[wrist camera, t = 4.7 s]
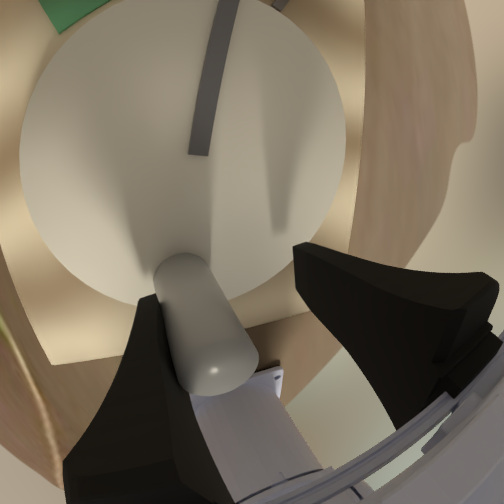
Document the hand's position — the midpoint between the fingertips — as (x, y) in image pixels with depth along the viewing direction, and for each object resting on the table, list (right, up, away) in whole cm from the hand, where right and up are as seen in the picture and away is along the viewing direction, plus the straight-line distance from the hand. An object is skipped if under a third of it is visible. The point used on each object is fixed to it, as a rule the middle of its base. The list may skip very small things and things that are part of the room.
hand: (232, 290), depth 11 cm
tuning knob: (-1, +7, -1) cm, 7 cm away
